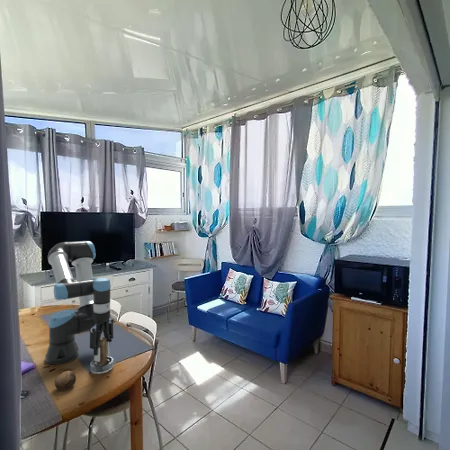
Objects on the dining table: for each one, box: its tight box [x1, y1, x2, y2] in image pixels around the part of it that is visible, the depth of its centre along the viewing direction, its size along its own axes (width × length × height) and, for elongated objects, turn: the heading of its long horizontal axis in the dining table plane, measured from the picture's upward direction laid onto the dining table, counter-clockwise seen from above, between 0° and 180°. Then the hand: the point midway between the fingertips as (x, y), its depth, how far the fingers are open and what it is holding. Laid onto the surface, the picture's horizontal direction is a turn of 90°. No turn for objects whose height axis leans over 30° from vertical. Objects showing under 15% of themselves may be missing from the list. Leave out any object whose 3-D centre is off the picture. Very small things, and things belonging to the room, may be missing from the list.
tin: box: [89, 355, 115, 375], centre depth 135 cm, size 10×10×4 cm
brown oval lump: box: [54, 370, 77, 391], centre depth 121 cm, size 8×8×6 cm
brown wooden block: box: [97, 336, 107, 366], centre depth 135 cm, size 2×4×14 cm, turn 71°
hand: (102, 357), depth 135 cm, fingers open, 5 cm apart
